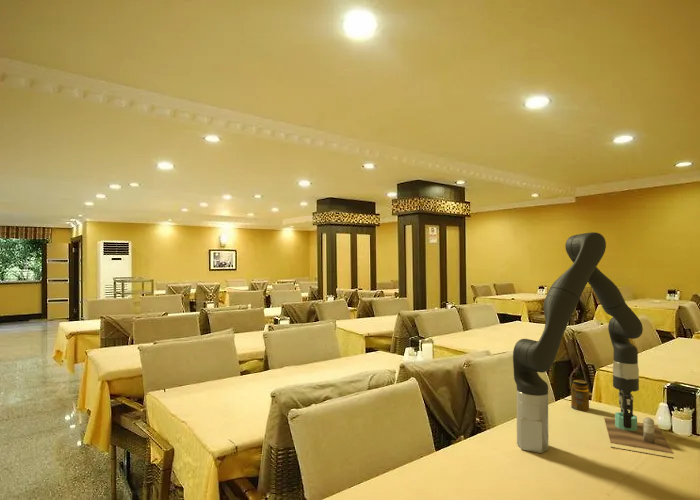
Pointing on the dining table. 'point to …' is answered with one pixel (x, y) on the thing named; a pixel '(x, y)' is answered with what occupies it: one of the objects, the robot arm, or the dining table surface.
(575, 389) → the condiment
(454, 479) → the dining table surface
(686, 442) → the dining table surface
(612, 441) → the board
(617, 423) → the ring
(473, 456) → the dining table surface
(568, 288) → the robot arm
